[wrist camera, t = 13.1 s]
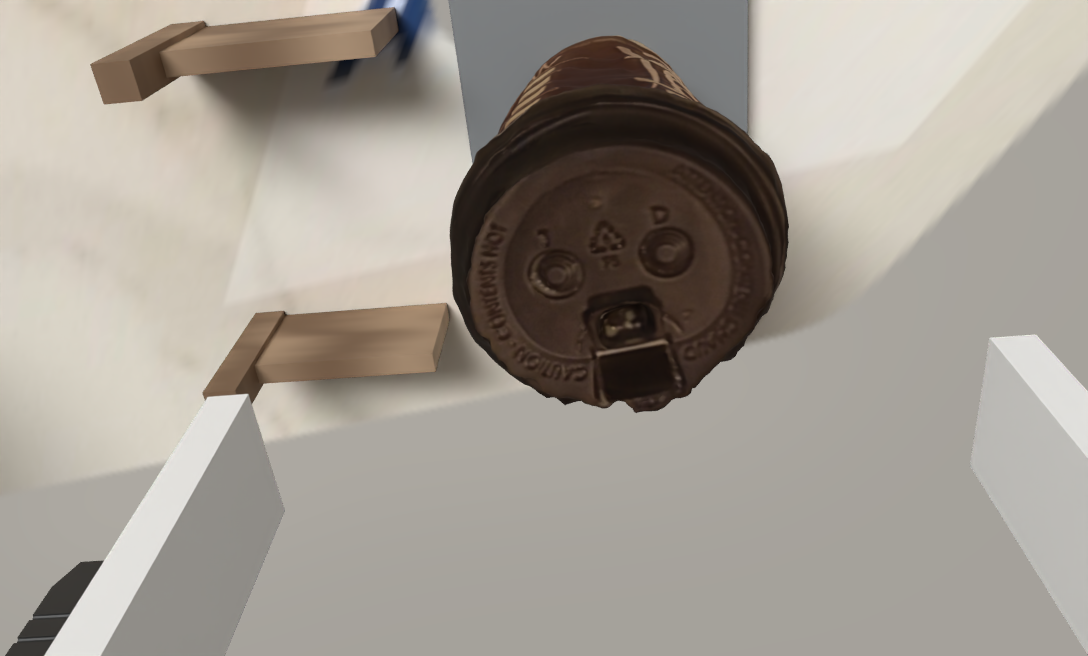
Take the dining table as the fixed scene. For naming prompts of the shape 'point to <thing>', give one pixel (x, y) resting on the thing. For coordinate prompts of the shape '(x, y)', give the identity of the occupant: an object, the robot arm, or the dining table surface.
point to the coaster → (586, 12)
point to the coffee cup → (616, 232)
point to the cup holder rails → (275, 338)
